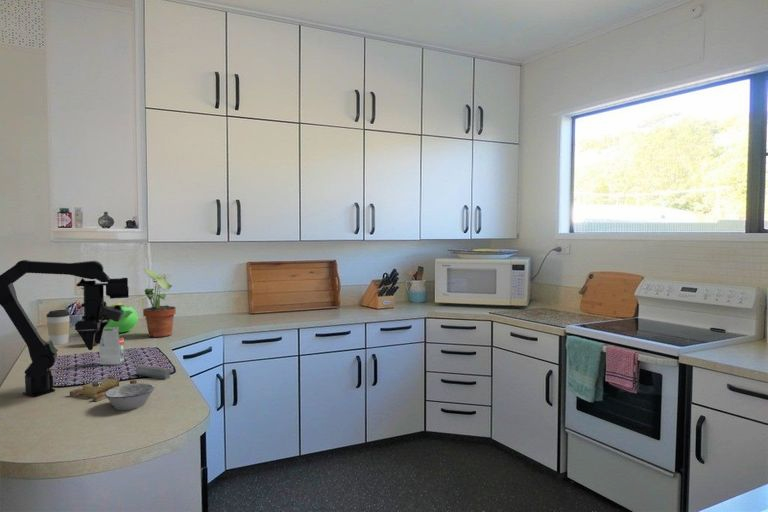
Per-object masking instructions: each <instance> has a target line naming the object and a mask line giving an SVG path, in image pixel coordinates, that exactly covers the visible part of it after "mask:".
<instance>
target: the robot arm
mask: <svg viewBox="0 0 768 512" xmlns="http://www.w3.org/2000/svg"><path fill="white" fill-rule="evenodd" d="M26 274H45V275H46V274H47V275H48V274H49V275H65V276H67V275H69V276H75V277H78V278H81V279H80V281H78V282H77V284H75V285H76V287H82V289H83V294H82V295H83V303H81V307H82V308H83V315H81V319H80V320H78V321H77V322H76V323H75V324H74V330H75V331H76V332H77V333H78V334H79V336H80V338H81V339H82V341H83V343H84V344H85V346H86V348H87V350H88V351H92V350H93V349H94V346H95V345H99V344H100V342H101V338H102V334H103V330H104V327H105V326H106V325H107V324H108V323H109V322H110V320H113V321H116V322H118V321H119V320H121V317H122V315H123V312H124V311H123V310H122V307H121V306H120V305H116V306H115V307H109V306H110V305H109V306H108V305H107V302H106V301H105V300H104V299H105V298H104V297H105V296H106V297H109V299H111V300H112V299H114V300H115V299H129V298H130V297H129V284H128V283H129V278H128V277H120V278H111V277H109V275H108V274H107V273H106V272H105V271H104V265H103V264H102V263H101V262H100V261H97V260H87V261H86V260H85V261H77V262H61V261H60V262H59V261H56V262H55V261H39V260H38V261H37V260H36V261H35V260H28V259H22V260H20V261H18V262H17V263H16V264H15V265H13V266H12V267H10V268H9V269H7V270H5V271H4V272H2V273H1V274H0V306H1V307H2V308H3V310H4V312H6V315H7V316H8V317H9V320H10V321H11V322H12V324H13V326H14V327H15V329H16V330H17V332H18V334H19V335H20V336H21V338H22V339H23V341H24V343H25V344H26V346H27V349H28V354H29V357H30V360H31V363H30V364H28V366H27V368H26V369H25V370H24V385H25V391H23V392H22V395H25V396H30V397H38V396H42V395H46V394H48V393H52V392H56V389H55V388H54V375H52V370H49V369H51V368H53V366H54V365H55V363H56V361H57V360H58V359H57V358H58V352H59V351H58V348H56V347H55V345H53V343H52V341H51V340H50V339H49V341H45V340H44V339H43V338H42V336H41V335H40V334H39V332H38V330H37V328H36V326H35V325H34V324H33V322H32V321H31V318H30V317H29V316H28V314H27V313H26V311H25V310H24V308H23V306H22V305H21V303H20V301H19V299H18V297H17V292H16V289H15V286H14V283H15V282H17V281H18V280H19V279H21V278H22V277H23V276H25V275H26ZM85 279H87V280H85ZM97 281H99V283H98V282H97ZM104 286H105V288H104ZM104 289H105V291H104ZM104 293H105V296H104ZM105 320H107V321H105ZM94 340H95V342H96V344H95V345H94Z"/></svg>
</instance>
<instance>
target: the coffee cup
mask: <svg viewBox="0 0 768 512" xmlns="http://www.w3.org/2000/svg"><path fill="white" fill-rule="evenodd" d="M70 316H71V314H70V311H68V310H67V309H55V310H50V311H49V312H48V313H46V325H47V332H48V334H47V335H48V336H49V338H48V339H49V341H50V340H51V341H52V343H53V345H54V346H56V345H65V344H67V343H69V337H70V336H69V334H70V322H71V321H70Z"/></svg>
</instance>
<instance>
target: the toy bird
mask: <svg viewBox="0 0 768 512" xmlns="http://www.w3.org/2000/svg"><path fill="white" fill-rule="evenodd" d="M116 305H120V306H121V307H122V310H123V311H124V312H123V315H122V317H121V320H119V321H118V322H116V321H113V320H110V322H109V323H108V324H107V325H106V326H105V327H119V334H120V333H125V332H128V331H130V330H132V329H134V328H135V326H136V325H137V324H138V321H139V315H138V312H137V311H136V309H135V308H133V307H131V306H129V305H125V304H122V302H116V303H115V304H112V305H109V307H115V306H116ZM105 321H107V320H105ZM105 331H113V329H109V328H108V329H105Z"/></svg>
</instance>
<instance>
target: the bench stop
mask: <svg viewBox="0 0 768 512" xmlns="http://www.w3.org/2000/svg"><path fill="white" fill-rule="evenodd" d="M135 373H136V374H139V375H138V376H142V375H143V377H149V378H155V379H160V380H168V379H170V376H171V371H170V368H163V367H157V366H152V365H145V364H139V365H136V366H135Z"/></svg>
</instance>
